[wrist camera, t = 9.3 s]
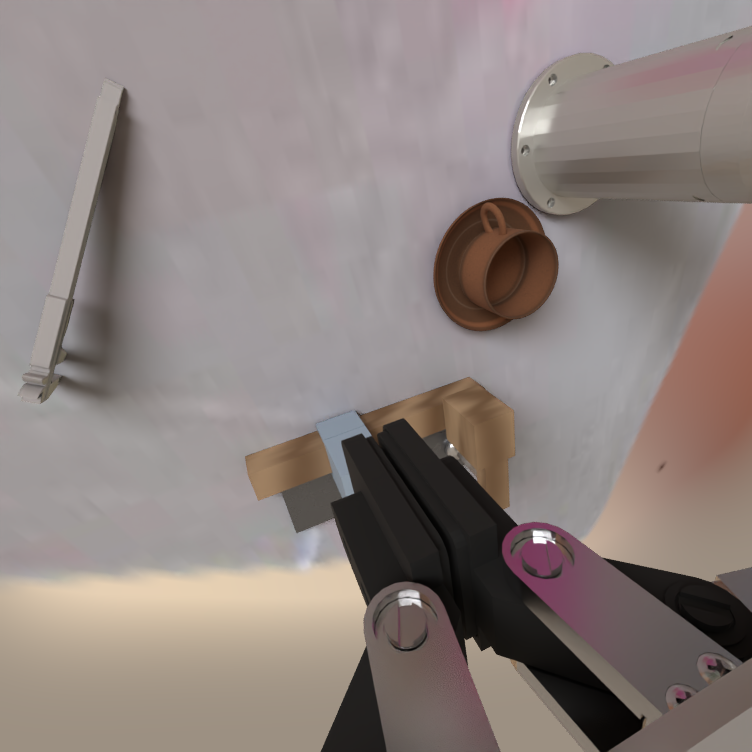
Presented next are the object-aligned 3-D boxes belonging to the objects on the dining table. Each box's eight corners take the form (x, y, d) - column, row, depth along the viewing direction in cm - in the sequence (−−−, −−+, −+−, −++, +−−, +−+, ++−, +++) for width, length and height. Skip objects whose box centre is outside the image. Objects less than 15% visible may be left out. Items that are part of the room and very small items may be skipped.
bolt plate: (487, 406, 48) (495, 412, 47) (490, 448, 51) (498, 455, 49) (279, 485, 42) (282, 495, 41) (295, 527, 45) (298, 538, 44)
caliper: (62, 380, 32) (34, 420, 27) (44, 376, 32) (12, 416, 26) (125, 88, 27) (106, 63, 22) (105, 78, 27) (80, 50, 21)
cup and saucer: (400, 268, 38) (432, 281, 33) (493, 166, 38) (541, 163, 32) (471, 348, 44) (508, 370, 39) (552, 262, 44) (600, 272, 39)
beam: (468, 368, 45) (523, 406, 37) (475, 451, 50) (524, 499, 42) (241, 448, 39) (251, 512, 32) (275, 532, 44) (290, 604, 37)
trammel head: (354, 410, 42) (387, 459, 34) (374, 494, 47) (406, 552, 39) (315, 424, 41) (340, 477, 33) (339, 508, 46) (366, 570, 38)
